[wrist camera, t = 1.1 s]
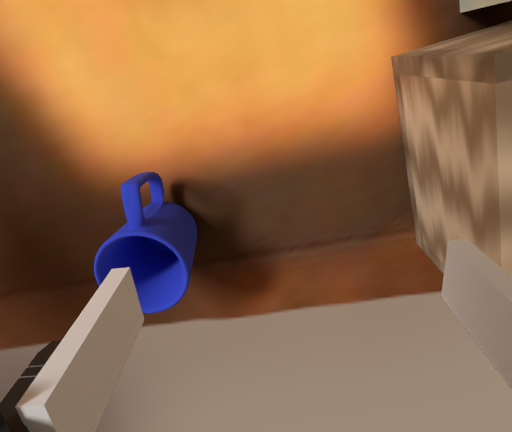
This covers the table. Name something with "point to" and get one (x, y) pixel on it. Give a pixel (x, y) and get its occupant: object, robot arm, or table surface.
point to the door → (478, 4)
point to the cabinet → (459, 141)
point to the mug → (151, 246)
